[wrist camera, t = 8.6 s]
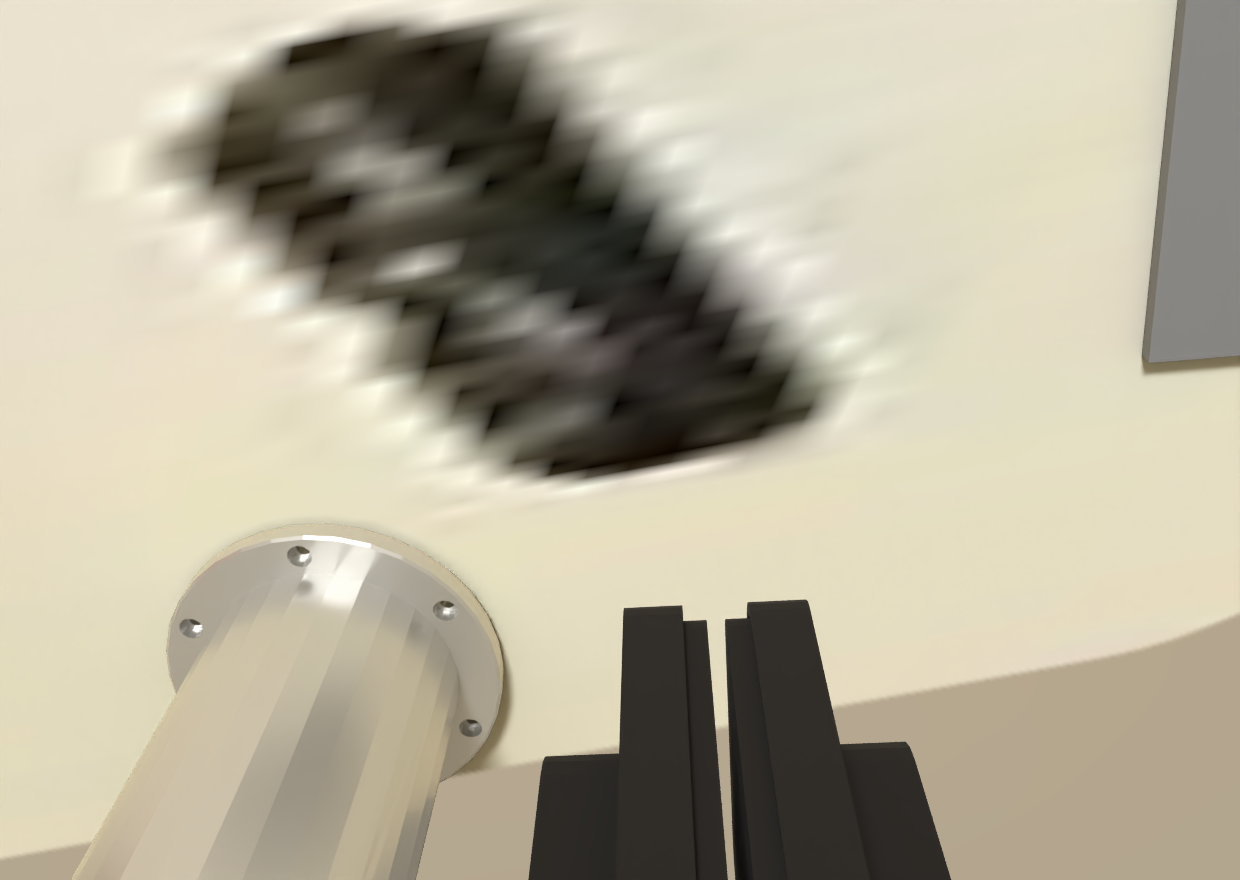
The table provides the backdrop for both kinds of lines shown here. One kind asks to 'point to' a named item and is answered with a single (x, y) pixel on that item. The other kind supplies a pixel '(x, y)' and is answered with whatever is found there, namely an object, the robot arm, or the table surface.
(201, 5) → the table surface
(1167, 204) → the mat
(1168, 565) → the table surface
